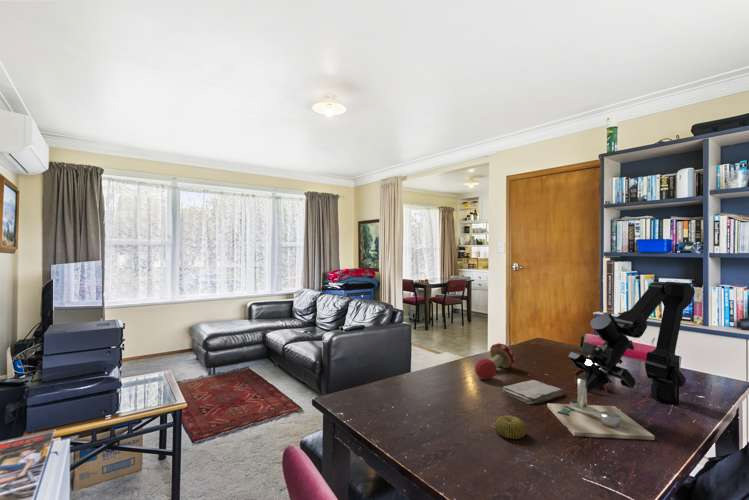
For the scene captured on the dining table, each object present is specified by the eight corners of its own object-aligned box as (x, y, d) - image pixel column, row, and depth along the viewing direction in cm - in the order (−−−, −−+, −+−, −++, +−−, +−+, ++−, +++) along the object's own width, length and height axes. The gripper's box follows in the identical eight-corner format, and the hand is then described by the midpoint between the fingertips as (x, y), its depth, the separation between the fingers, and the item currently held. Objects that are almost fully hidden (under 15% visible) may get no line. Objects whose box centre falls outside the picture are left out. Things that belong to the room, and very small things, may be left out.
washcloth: (499, 394, 124) (500, 385, 124) (533, 384, 133) (533, 376, 133) (530, 407, 113) (530, 397, 113) (564, 396, 123) (564, 387, 123)
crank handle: (623, 425, 98) (623, 390, 98) (613, 428, 96) (614, 392, 96) (575, 406, 110) (575, 374, 110) (566, 408, 108) (566, 376, 108)
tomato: (492, 360, 132) (483, 350, 140) (475, 372, 133) (467, 362, 140) (503, 375, 134) (494, 364, 142) (486, 387, 134) (478, 376, 142)
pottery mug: (610, 396, 123) (598, 375, 123) (582, 402, 128) (570, 382, 128) (607, 377, 133) (596, 357, 133) (581, 383, 138) (570, 364, 138)
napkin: (614, 409, 111) (614, 405, 111) (654, 439, 93) (654, 434, 93) (547, 406, 113) (547, 402, 113) (574, 436, 95) (574, 431, 95)
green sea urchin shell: (521, 429, 90) (490, 420, 95) (521, 445, 90) (489, 435, 95) (530, 418, 97) (500, 409, 102) (530, 433, 97) (500, 424, 102)
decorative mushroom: (486, 353, 141) (507, 335, 150) (470, 361, 150) (491, 343, 158) (504, 378, 138) (525, 358, 146) (487, 384, 147) (508, 365, 155)
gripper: (572, 326, 118) (545, 363, 114) (629, 341, 100) (598, 385, 96) (590, 348, 120) (564, 385, 117) (648, 366, 102) (619, 410, 99)
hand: (584, 390), depth 107 cm, fingers closed, pressing on crank handle
